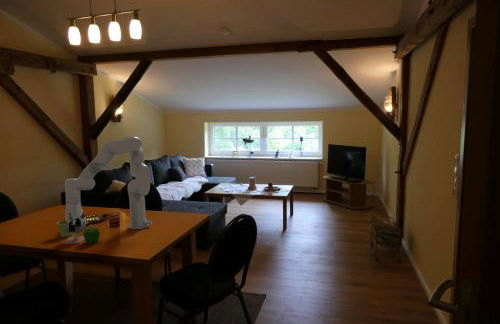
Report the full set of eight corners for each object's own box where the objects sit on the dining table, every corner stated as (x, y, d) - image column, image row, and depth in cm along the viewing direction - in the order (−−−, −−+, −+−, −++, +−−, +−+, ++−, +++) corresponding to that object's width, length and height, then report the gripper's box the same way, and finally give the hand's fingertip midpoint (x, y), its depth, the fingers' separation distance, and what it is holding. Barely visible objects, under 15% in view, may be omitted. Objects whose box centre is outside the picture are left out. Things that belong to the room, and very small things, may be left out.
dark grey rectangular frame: (71, 229, 194) (70, 224, 194) (85, 229, 194) (85, 224, 194) (65, 232, 188) (64, 227, 188) (79, 232, 188) (79, 227, 188)
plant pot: (62, 239, 195) (61, 225, 194) (54, 236, 200) (53, 222, 199) (78, 234, 203) (77, 221, 202) (69, 232, 208) (68, 218, 206)
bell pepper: (98, 244, 186) (97, 227, 185) (82, 245, 184) (81, 228, 183) (101, 239, 194) (100, 222, 193) (86, 240, 192) (85, 224, 191)
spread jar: (77, 230, 210) (76, 213, 209) (62, 229, 212) (61, 212, 211) (90, 225, 222) (89, 208, 220) (75, 224, 224) (74, 207, 223)
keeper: (89, 237, 197) (88, 227, 196) (80, 243, 187) (79, 232, 186) (72, 237, 197) (71, 227, 196) (63, 243, 187) (62, 232, 186)
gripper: (74, 196, 198) (76, 225, 200) (58, 203, 181) (60, 234, 183) (87, 196, 198) (88, 225, 200) (71, 203, 181) (73, 234, 183)
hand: (75, 229), depth 191 cm, fingers closed on dark grey rectangular frame, 6 cm apart
